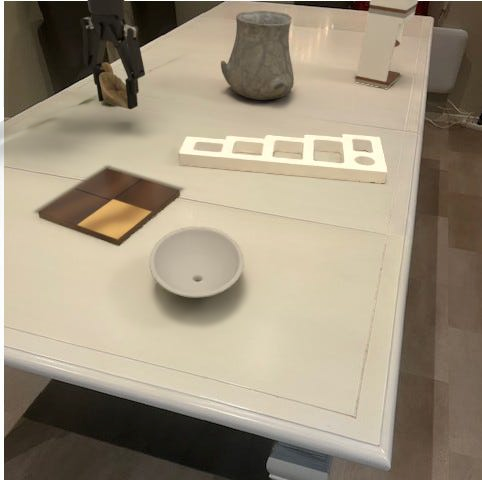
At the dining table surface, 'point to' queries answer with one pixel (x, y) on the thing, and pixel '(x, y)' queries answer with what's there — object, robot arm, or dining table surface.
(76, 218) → the board
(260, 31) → the vessel
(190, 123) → the dining table surface
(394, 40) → the white square pillar
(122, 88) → the fossil
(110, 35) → the robot arm
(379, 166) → the holder
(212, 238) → the dish
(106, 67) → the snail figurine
